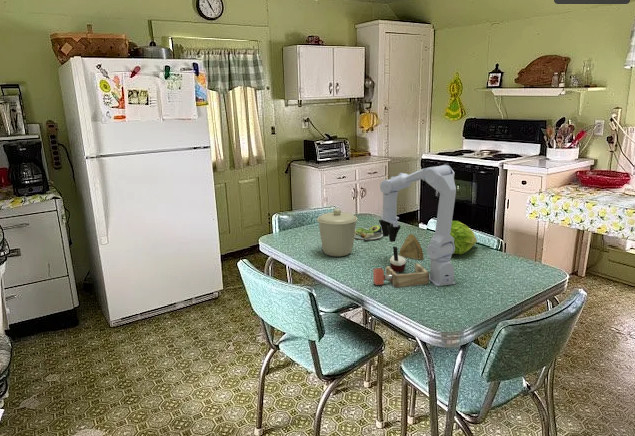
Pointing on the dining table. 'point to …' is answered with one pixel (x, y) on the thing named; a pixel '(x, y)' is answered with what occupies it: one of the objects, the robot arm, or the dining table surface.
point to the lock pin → (381, 276)
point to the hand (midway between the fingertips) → (389, 238)
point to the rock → (411, 248)
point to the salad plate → (369, 233)
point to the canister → (337, 232)
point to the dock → (409, 277)
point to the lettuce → (462, 237)
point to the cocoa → (397, 261)
